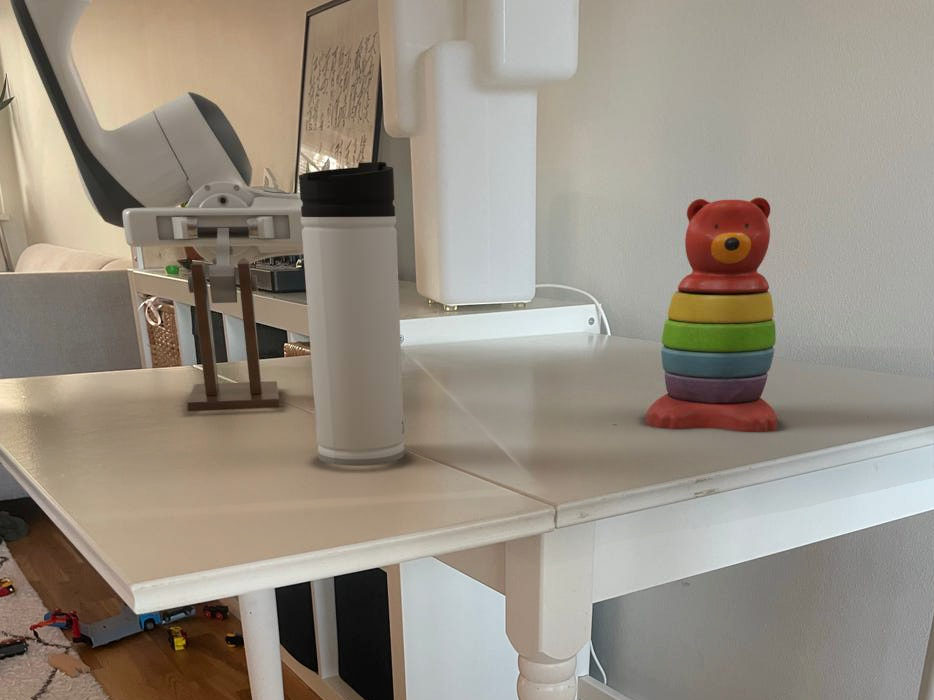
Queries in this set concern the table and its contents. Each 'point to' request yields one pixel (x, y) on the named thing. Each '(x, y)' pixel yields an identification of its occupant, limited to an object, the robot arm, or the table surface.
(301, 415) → the table surface
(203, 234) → the lever
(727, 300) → the stacking bear
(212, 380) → the brown wooden stand
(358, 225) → the travel mug
